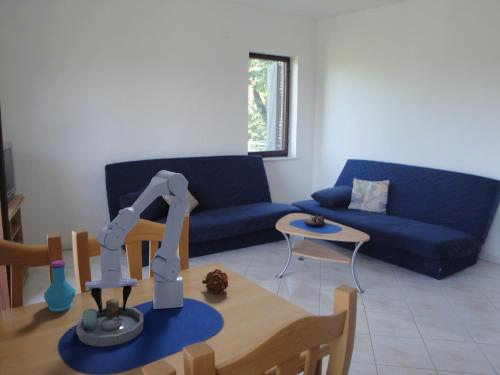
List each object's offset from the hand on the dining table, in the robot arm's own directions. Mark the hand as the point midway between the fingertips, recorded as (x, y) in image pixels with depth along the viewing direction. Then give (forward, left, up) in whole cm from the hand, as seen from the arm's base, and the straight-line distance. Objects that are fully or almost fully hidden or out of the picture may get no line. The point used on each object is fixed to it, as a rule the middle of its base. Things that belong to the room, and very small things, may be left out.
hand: (112, 310), depth 122 cm
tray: (0, +6, -3) cm, 6 cm away
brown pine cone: (-34, -16, -3) cm, 38 cm away
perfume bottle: (+17, -12, -3) cm, 21 cm away
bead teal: (+6, +6, -2) cm, 8 cm away
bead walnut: (0, 0, -2) cm, 2 cm away
